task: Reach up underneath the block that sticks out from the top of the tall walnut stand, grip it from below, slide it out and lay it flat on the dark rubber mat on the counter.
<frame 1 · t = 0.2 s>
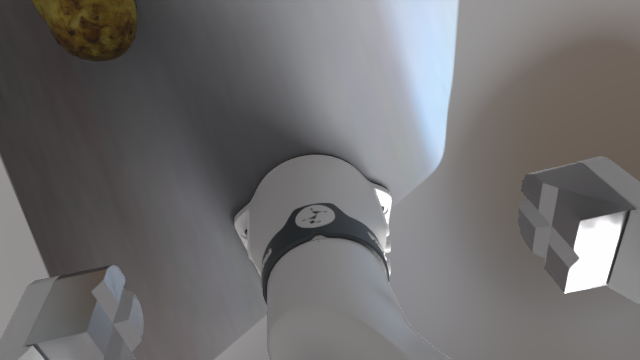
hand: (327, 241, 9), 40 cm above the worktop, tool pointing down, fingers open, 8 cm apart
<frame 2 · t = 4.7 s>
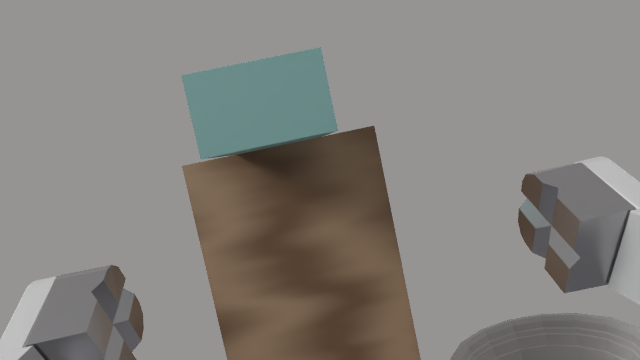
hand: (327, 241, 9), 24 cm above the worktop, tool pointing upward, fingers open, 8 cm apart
block: (280, 145, 23), point 26 cm above the worktop, touching stand
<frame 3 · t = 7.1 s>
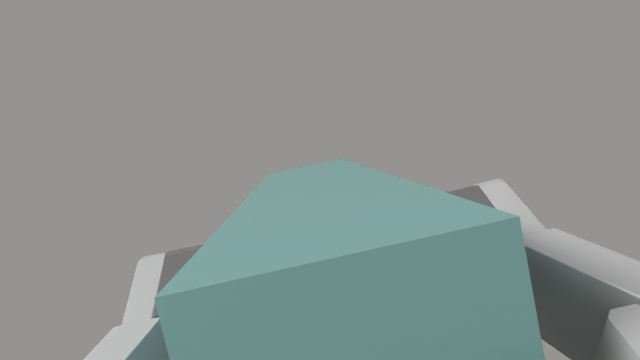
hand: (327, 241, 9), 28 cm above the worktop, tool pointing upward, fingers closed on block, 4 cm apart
block: (326, 252, 15), point 26 cm above the worktop, touching gripper, stand
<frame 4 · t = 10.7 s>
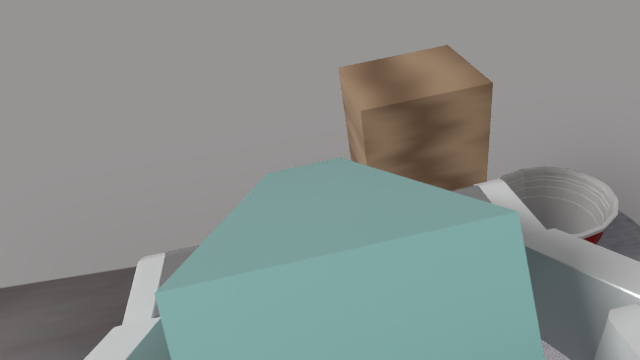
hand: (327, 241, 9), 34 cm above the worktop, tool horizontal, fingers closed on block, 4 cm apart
stand: (419, 305, 49), on the worktop
plastic cup: (534, 286, 49), on the worktop
block: (325, 251, 15), point 29 cm above the worktop, tilted 30°, touching gripper
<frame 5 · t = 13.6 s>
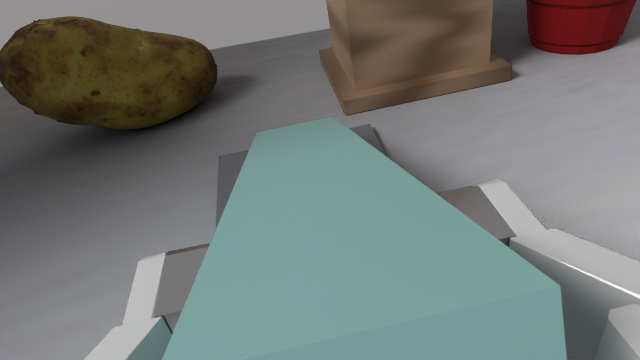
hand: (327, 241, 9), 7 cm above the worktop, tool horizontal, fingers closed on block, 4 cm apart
stand: (404, 70, 34), on the worktop
potato: (137, 123, 34), on the worktop
plastic cup: (568, 42, 34), on the worktop
block: (320, 229, 15), point 4 cm above the worktop, tilted 21°, touching gripper, mat
mat: (327, 282, 18), on the worktop
when the fingers open (6 cm above the worktop, at t = 14.3 s): block drops 3 cm, resting on mat.
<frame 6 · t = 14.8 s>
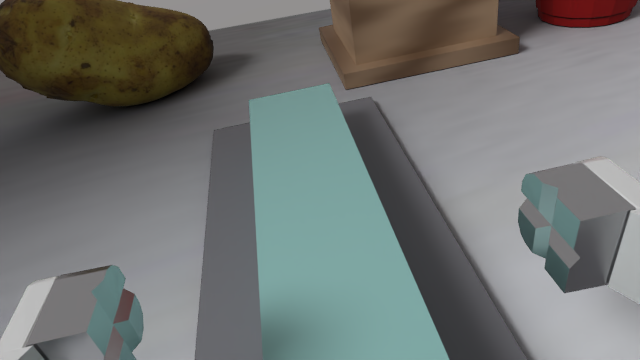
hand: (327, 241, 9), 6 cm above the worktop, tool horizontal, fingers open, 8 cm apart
stand: (407, 45, 33), on the worktop
potato: (131, 101, 33), on the worktop
plastic cup: (578, 16, 33), on the worktop
block: (330, 272, 16), resting on mat
mat: (325, 251, 17), on the worktop
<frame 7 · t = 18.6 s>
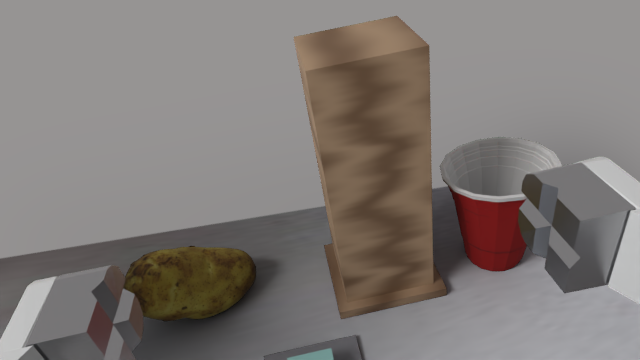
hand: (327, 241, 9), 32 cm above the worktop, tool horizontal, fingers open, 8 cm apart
stand: (381, 271, 51), on the worktop
potato: (203, 305, 51), on the worktop
plastic cup: (490, 253, 51), on the worktop
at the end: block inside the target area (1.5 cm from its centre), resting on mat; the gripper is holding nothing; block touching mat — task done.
